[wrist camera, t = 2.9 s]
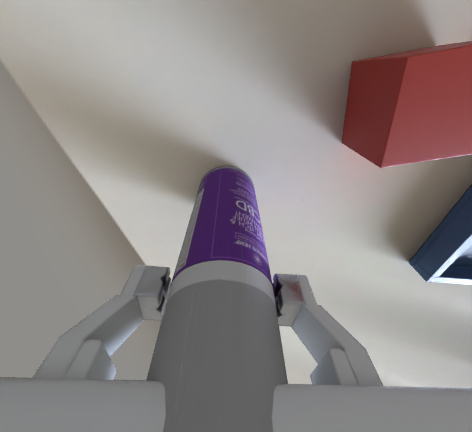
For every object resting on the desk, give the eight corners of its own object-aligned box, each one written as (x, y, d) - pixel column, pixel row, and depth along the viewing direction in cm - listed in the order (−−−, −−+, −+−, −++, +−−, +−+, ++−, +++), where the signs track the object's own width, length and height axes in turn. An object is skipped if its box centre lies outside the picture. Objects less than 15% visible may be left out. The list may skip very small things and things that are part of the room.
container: (262, 173, 17) (340, 443, 5) (244, 219, 20) (266, 471, 7) (205, 158, 16) (118, 433, 4) (195, 208, 19) (123, 468, 6)
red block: (351, 61, 13) (407, 56, 9) (437, 45, 13) (537, 32, 8) (341, 143, 16) (380, 168, 12) (411, 132, 15) (477, 154, 11)
